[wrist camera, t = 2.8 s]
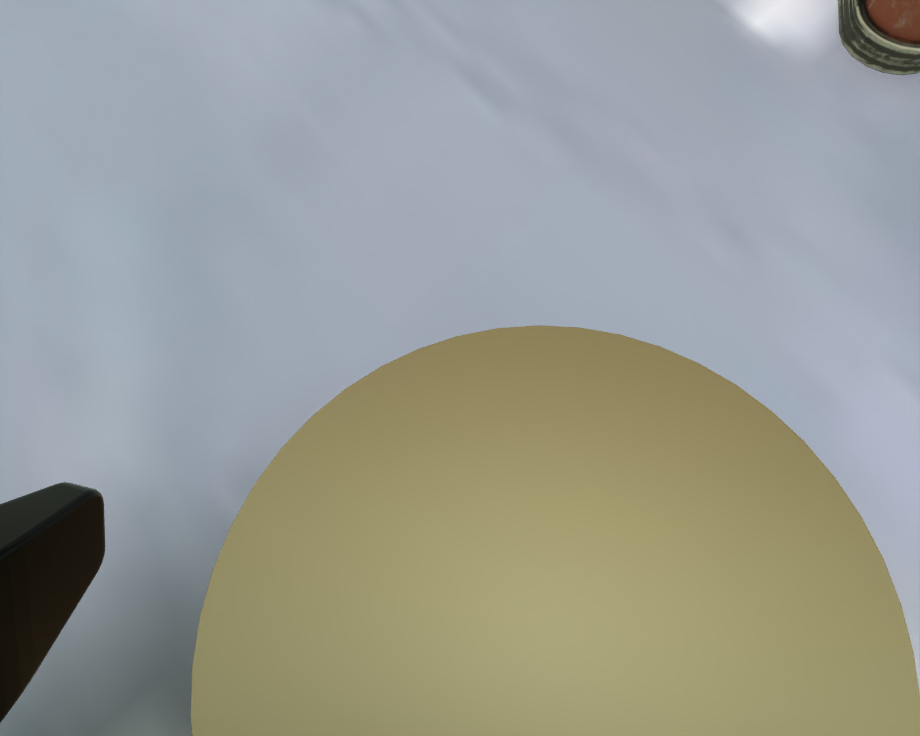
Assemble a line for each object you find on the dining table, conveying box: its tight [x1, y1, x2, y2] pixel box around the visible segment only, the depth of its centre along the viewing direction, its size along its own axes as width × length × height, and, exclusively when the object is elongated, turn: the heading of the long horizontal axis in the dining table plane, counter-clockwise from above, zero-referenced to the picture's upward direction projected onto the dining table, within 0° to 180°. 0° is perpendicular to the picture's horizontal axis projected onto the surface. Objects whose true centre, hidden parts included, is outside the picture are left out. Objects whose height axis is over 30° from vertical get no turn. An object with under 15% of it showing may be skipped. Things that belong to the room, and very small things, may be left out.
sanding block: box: [191, 326, 920, 736], centre depth 9 cm, size 8×6×13 cm
